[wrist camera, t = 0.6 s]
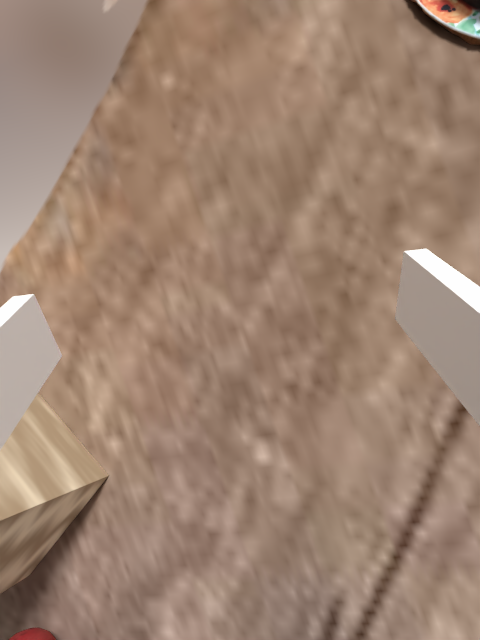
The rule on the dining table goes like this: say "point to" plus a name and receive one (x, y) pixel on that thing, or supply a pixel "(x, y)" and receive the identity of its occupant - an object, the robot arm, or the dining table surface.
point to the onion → (33, 635)
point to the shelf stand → (40, 489)
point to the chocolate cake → (455, 17)
